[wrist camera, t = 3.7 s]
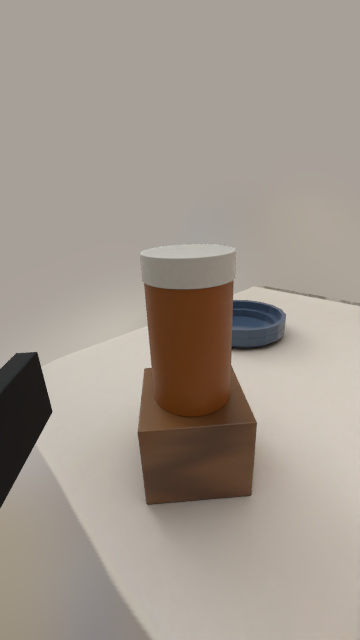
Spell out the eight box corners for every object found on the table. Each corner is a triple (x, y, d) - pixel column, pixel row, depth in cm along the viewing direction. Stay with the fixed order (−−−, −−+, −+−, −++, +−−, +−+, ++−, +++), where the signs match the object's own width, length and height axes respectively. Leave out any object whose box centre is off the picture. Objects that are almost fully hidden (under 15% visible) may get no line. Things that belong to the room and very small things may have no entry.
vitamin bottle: (138, 407, 21) (121, 256, 17) (171, 365, 26) (164, 243, 22) (220, 426, 19) (223, 259, 15) (238, 377, 24) (243, 244, 20)
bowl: (187, 344, 46) (186, 324, 44) (211, 313, 58) (211, 297, 57) (281, 357, 41) (283, 335, 39) (285, 320, 53) (287, 303, 52)
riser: (146, 504, 21) (137, 431, 19) (150, 427, 29) (144, 368, 26) (251, 495, 21) (257, 422, 19) (228, 421, 29) (230, 362, 26)
